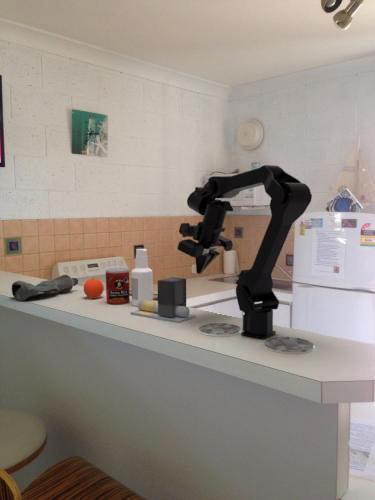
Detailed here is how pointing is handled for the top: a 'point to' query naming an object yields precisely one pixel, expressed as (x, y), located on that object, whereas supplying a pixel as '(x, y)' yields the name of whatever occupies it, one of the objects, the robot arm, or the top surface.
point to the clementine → (93, 288)
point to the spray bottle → (141, 278)
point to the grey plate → (151, 311)
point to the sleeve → (171, 295)
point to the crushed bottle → (43, 287)
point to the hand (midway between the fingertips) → (198, 273)
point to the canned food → (117, 286)
